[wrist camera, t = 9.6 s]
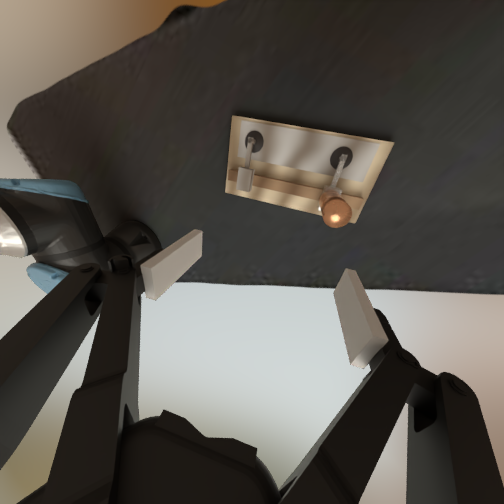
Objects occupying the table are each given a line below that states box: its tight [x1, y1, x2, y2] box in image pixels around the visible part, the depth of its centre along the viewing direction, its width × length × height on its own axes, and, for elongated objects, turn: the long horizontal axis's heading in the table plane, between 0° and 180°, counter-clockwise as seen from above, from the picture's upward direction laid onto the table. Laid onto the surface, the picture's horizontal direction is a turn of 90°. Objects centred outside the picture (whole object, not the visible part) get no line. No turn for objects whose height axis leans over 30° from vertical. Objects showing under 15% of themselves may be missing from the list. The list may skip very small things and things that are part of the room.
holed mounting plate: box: [225, 115, 394, 223], centre depth 33 cm, size 28×14×5 cm, turn 81°
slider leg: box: [317, 154, 352, 228], centre depth 27 cm, size 3×9×13 cm, turn 171°
